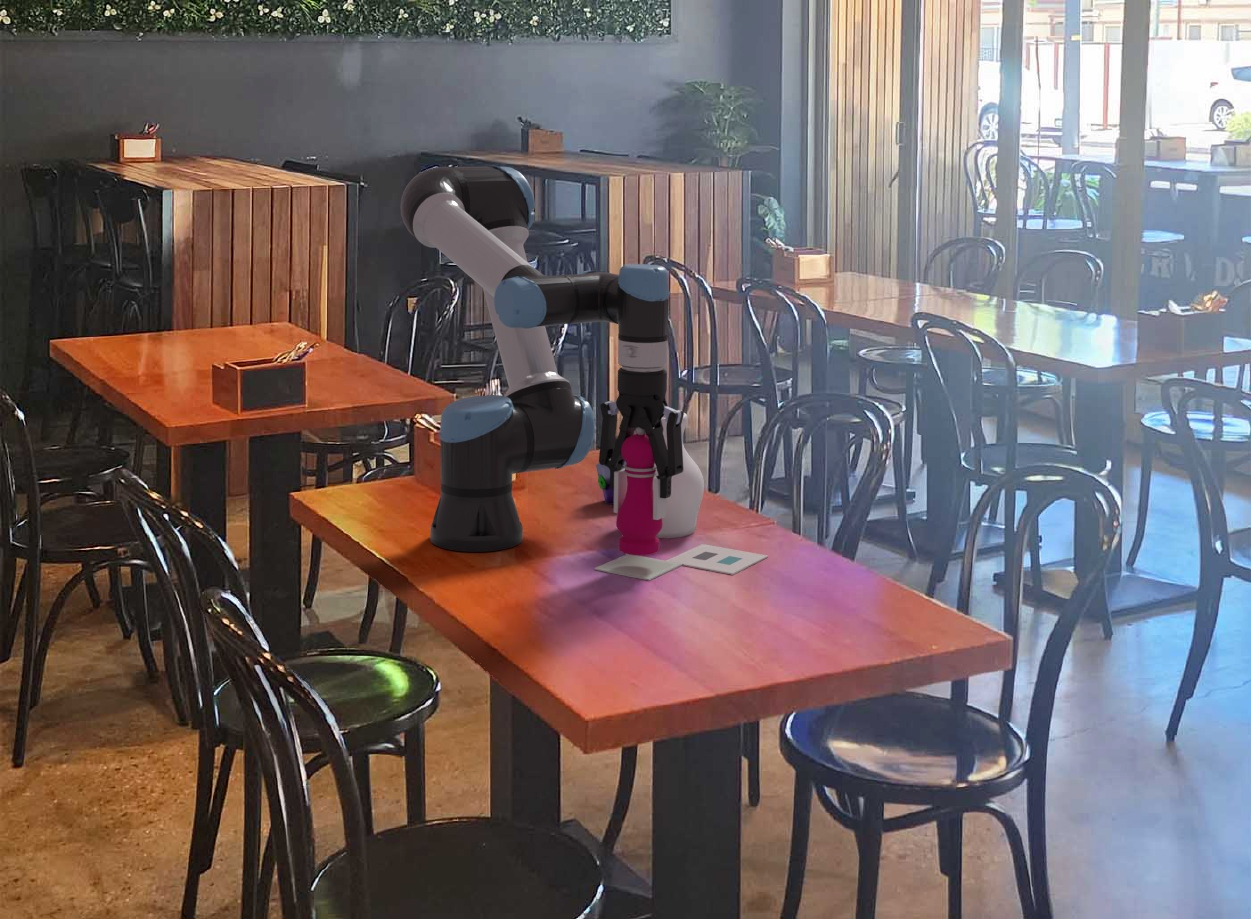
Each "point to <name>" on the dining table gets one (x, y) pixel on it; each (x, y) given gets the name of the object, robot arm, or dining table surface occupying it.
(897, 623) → the dining table surface
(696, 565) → the tile
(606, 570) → the coaster
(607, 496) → the potion bottle
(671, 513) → the vase
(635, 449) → the pepper mill
